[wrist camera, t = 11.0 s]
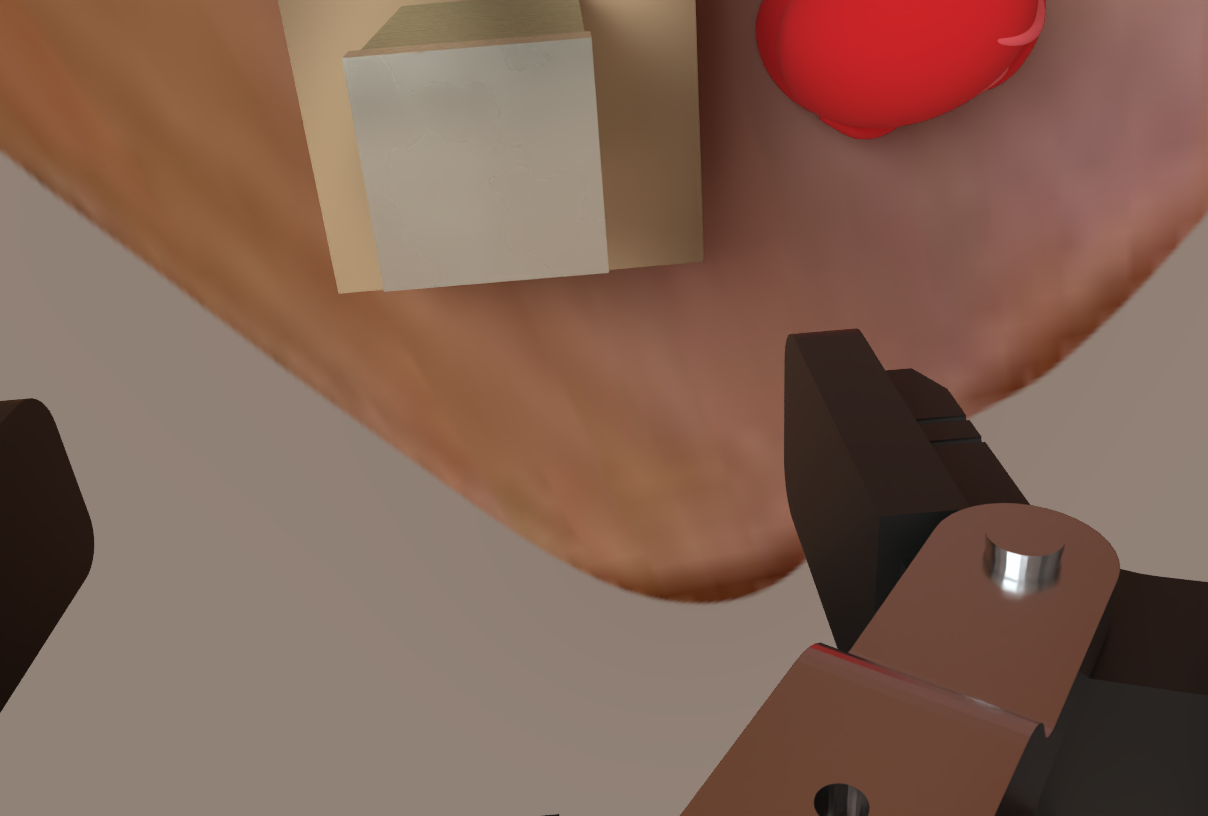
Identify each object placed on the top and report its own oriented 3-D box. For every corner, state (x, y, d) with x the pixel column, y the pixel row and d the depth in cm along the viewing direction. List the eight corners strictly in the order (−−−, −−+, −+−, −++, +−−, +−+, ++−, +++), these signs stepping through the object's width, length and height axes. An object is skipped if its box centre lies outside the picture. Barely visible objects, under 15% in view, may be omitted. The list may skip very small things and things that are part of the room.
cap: (1055, -169, 28) (891, -145, 25) (1109, 59, 28) (957, 106, 26) (848, -46, 35) (702, -18, 32) (896, 133, 35) (759, 176, 33)
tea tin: (580, -14, 27) (591, 38, 20) (594, 168, 29) (608, 272, 22) (397, 1, 27) (341, 58, 20) (424, 182, 29) (384, 291, 22)
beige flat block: (670, -152, 30) (690, -152, 26) (684, 209, 35) (703, 261, 31) (297, -120, 30) (254, -114, 26) (365, 237, 35) (338, 293, 31)
